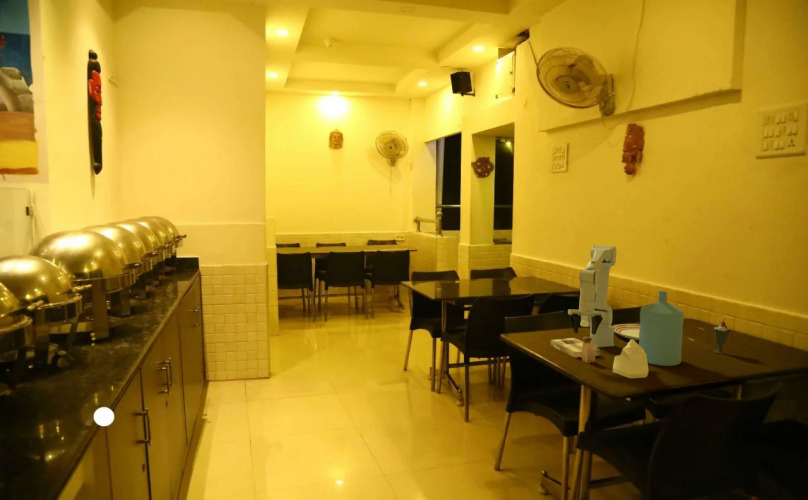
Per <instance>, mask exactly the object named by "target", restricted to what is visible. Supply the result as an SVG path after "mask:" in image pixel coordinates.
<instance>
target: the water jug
mask: <svg viewBox="0 0 808 500" xmlns="http://www.w3.org/2000/svg"><path fill="white" fill-rule="evenodd" d="M657 293H658V297H657V301H656V302H652V303H650V304H646V305H643V306H641V307H640V311H639V325H640V331H639V341H638V345H640V346H641V347H642V348H643V349H644V352H645V353H646V355H647V362H648V365H649V364H650V365H655V366H660V367H674V366H678V365H680V363H682V345H683V329H684V328H683V327H684V320H685V319H684V317H685V316H684V311H683V309H680V308H678V307H677V306H675V305H673V304H671V303H670V302H668V301H667V300H668V295H667V294H668V292H667V291H664V290H663V291H662V290H659V291H657Z"/></svg>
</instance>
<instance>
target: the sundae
mask: <svg viewBox="0 0 808 500" xmlns="http://www.w3.org/2000/svg"><path fill="white" fill-rule="evenodd" d="M712 331H713V333H714V341H715V343H717V345H718V349H717V350H716V349H715V350H713V353H714V354H718V355H727V354H728V352H727V351H724V350H723V345H725V344H726V343H727V341H728V337H729V333H731V331H732V330H731V329H729V328H728V325H727V323H726V318H724V320H722V321H721V322H718V324H717V325H716V326H713V327H712Z"/></svg>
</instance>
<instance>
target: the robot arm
mask: <svg viewBox="0 0 808 500" xmlns="http://www.w3.org/2000/svg"><path fill="white" fill-rule="evenodd" d="M590 258H591V260H589V261H588V262H587V264H586V266H585V268H584V269H582V270H581V271H580V272H579V288H580V289H579V291H580V292H579V293H580V294H579V306H578V309H567V314H568V317H569V319H570V322H571V325H572V329H573V333H574V334H578V333H579V325H580V321H581V315H586V316H587V321H588V323H590V325H591V327H589V329H590V330H589V331H590V332H589V334H590V335H589V337H591V338H592V340H591V343H592V344H594V345H596V346H595V348H598V349H599V348H607V347H615V344H614V339H615V338H614V337H615V336H614V335H615V332H614V330H613V325H612V323H613V309H612V307H611V306H610V305H609V304H608V303H607V299H608V291H609V281H610V272H611V268H612V267H614V266H615V265H616V261H617V248H616V246H615V245H613V246H612V245H595V244H593V245H592V246H591V248H590ZM583 313H587V314H583Z"/></svg>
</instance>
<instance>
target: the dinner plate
mask: <svg viewBox="0 0 808 500" xmlns="http://www.w3.org/2000/svg"><path fill="white" fill-rule="evenodd" d="M612 327H613V330H614V333H615V334H617V335H620V337H623V338H625V339H628V340H632V339H634V341H635V342H639V331H640V324H636V323H626V324H625V323H623V324H622V323H621V324H616V325H612Z"/></svg>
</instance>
